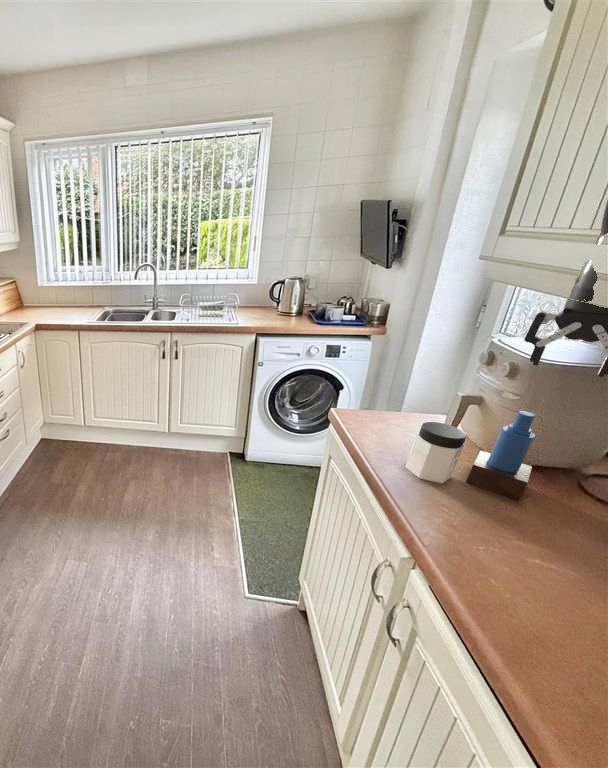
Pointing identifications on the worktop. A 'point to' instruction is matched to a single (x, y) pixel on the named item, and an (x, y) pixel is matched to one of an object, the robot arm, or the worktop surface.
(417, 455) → the jar
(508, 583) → the worktop surface
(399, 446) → the worktop surface
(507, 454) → the bottle
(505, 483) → the block
